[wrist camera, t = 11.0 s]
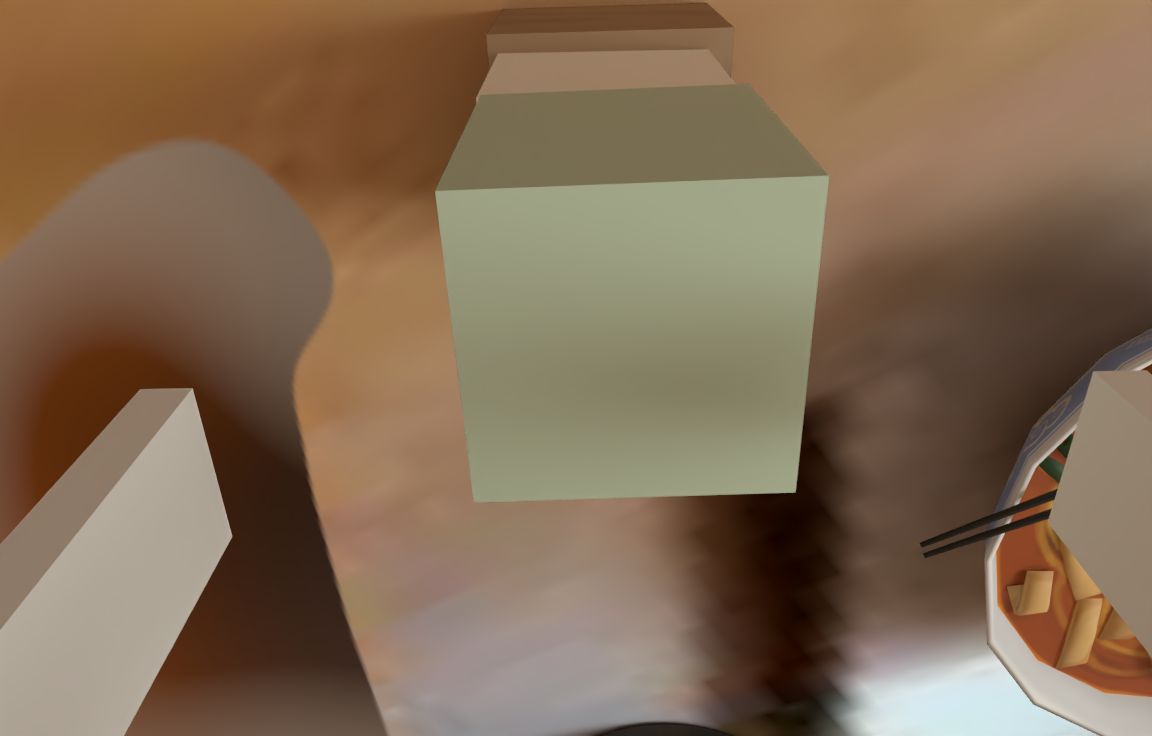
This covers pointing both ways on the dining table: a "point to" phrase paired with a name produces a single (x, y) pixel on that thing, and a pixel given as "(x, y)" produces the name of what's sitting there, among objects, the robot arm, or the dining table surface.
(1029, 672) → the ramen bowl
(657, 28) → the walnut base block
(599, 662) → the dining table surface
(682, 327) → the sage block
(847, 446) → the dining table surface
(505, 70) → the cream middle block
